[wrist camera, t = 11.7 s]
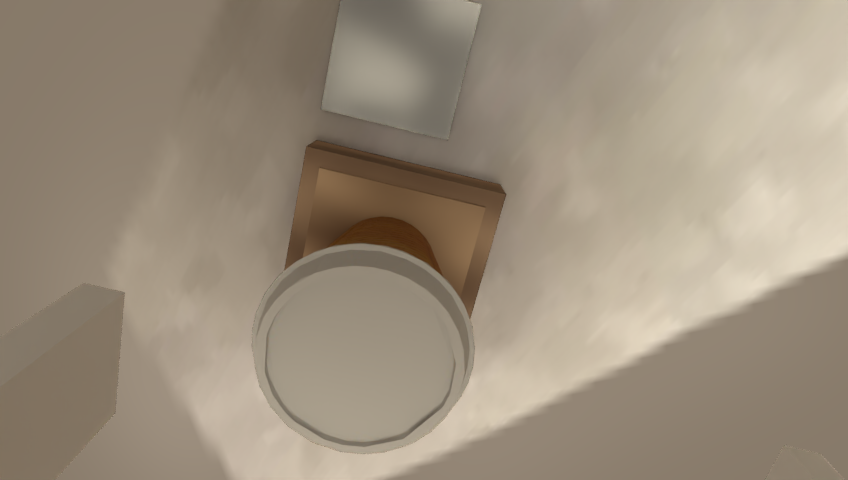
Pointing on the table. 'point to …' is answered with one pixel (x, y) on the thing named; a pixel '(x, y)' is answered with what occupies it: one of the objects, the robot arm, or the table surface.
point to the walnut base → (397, 209)
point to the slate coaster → (400, 62)
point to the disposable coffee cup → (364, 341)
